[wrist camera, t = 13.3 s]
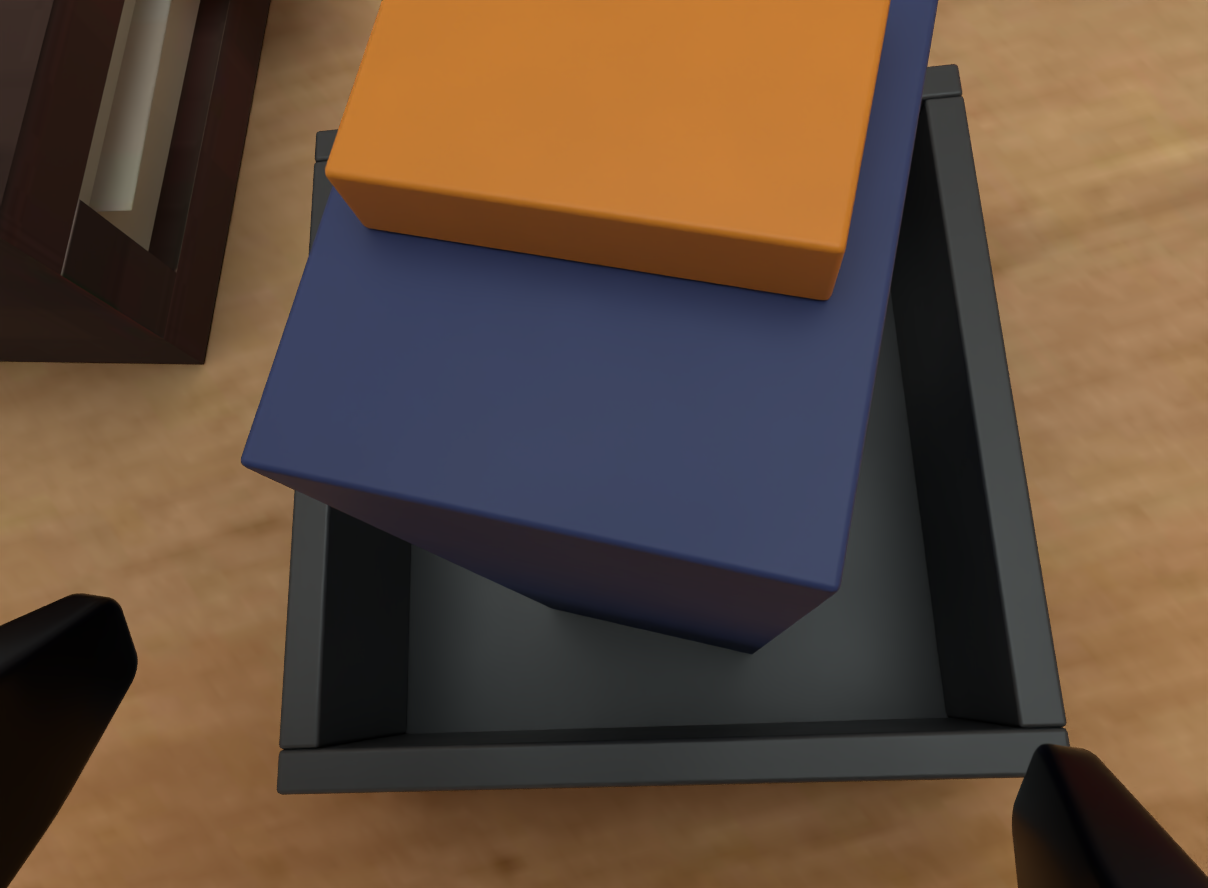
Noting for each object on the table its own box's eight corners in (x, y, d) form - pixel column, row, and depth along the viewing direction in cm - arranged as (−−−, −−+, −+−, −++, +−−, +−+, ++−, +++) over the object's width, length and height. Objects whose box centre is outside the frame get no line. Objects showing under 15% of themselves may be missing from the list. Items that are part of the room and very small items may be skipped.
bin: (979, 751, 18) (1076, 776, 13) (384, 767, 19) (274, 795, 14) (903, 203, 21) (958, 61, 16) (399, 248, 22) (314, 129, 18)
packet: (753, 654, 18) (860, 580, 5) (549, 607, 19) (171, 434, 6) (806, 366, 20) (999, -281, 6) (615, 334, 20) (436, -306, 7)
